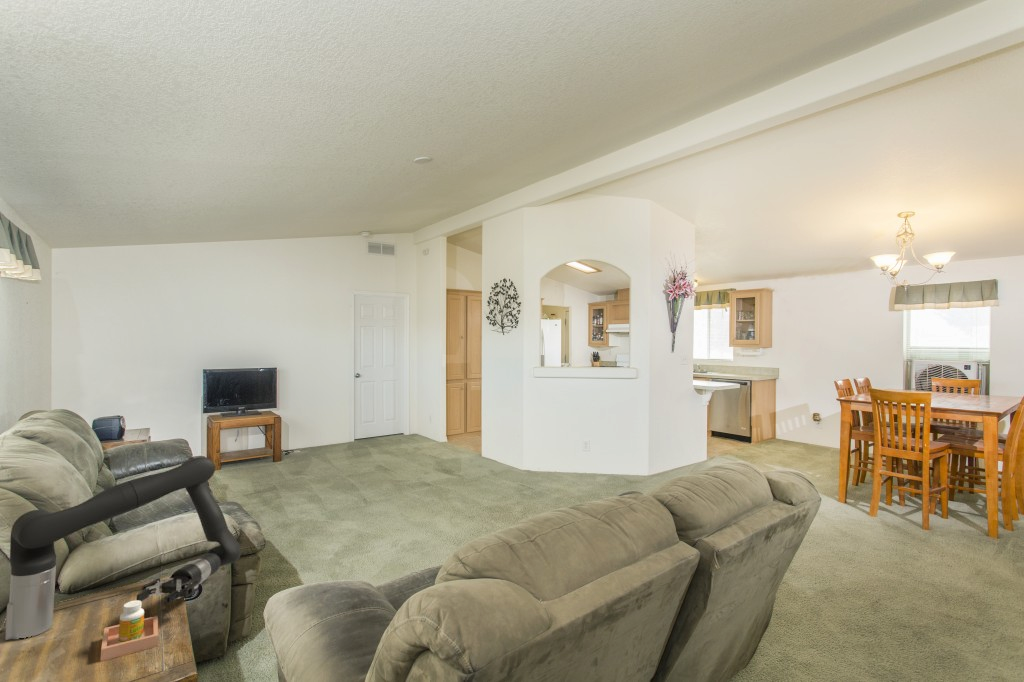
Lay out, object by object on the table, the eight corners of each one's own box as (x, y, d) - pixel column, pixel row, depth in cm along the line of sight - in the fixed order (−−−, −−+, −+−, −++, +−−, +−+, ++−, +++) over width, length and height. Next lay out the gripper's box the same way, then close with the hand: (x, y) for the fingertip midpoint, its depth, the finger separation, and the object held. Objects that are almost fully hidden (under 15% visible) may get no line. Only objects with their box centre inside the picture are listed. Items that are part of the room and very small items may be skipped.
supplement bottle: (129, 646, 133) (131, 609, 133) (113, 643, 134) (115, 607, 134) (147, 635, 138) (149, 600, 138) (132, 632, 139) (133, 597, 139)
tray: (100, 661, 127) (101, 649, 128) (103, 639, 137) (104, 628, 137) (157, 646, 135) (158, 635, 135) (156, 626, 144) (157, 615, 144)
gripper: (171, 562, 160) (129, 585, 143) (213, 564, 159) (175, 588, 142) (169, 585, 159) (127, 611, 143) (212, 588, 158) (174, 614, 142)
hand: (151, 600), depth 143 cm, fingers open, 8 cm apart
